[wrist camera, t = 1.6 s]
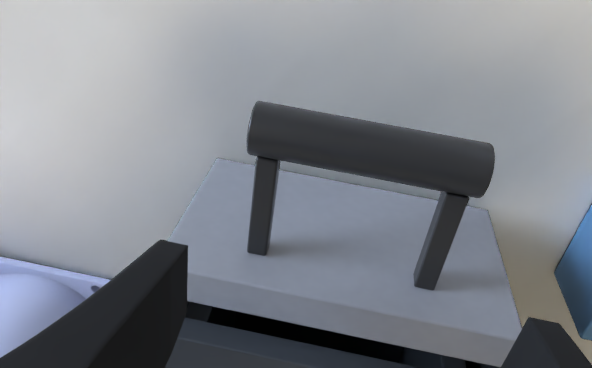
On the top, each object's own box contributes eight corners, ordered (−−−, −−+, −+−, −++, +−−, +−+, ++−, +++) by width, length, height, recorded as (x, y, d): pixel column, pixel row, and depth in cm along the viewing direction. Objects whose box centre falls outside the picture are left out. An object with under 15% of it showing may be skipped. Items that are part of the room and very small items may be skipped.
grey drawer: (222, 35, 17) (146, 111, 12) (537, 91, 16) (609, 198, 11) (206, 364, 26) (160, 490, 21) (405, 408, 25) (410, 549, 20)
